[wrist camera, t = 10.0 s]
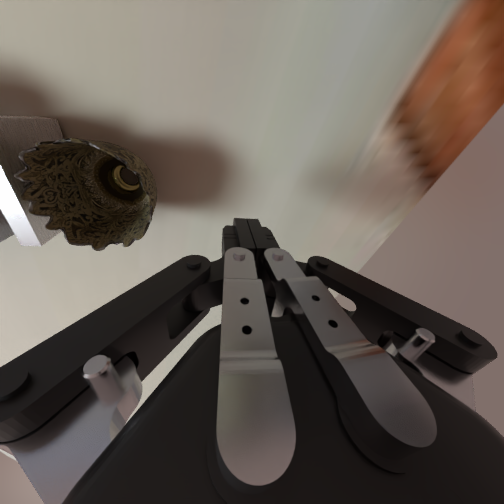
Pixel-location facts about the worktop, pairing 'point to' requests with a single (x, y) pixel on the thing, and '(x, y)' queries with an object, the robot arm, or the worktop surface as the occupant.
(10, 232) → the gauge housing
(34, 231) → the plunger
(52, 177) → the cup
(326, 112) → the worktop surface
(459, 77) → the worktop surface
